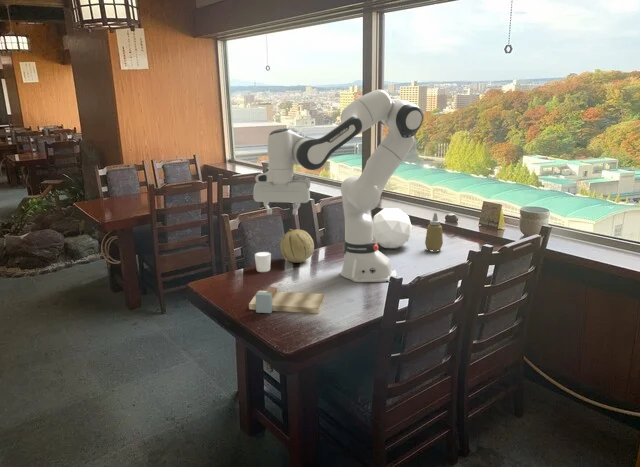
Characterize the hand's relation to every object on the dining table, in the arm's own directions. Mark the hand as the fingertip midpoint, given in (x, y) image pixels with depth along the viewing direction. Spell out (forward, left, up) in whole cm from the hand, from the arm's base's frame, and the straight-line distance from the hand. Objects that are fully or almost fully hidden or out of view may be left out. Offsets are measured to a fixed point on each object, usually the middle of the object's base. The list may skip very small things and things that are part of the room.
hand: (282, 214), depth 173 cm
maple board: (-4, +13, -29) cm, 32 cm away
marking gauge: (+2, +15, -29) cm, 32 cm away
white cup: (+14, -20, -29) cm, 38 cm away
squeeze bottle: (-58, -56, -29) cm, 86 cm away
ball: (-38, -59, -29) cm, 76 cm away
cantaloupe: (+2, -32, -29) cm, 44 cm away
